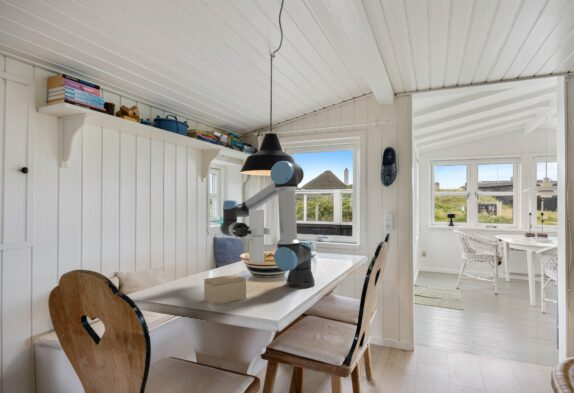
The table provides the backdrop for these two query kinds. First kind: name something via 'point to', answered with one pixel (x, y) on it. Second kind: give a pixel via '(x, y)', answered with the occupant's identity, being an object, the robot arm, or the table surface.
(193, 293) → the table surface
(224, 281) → the lid
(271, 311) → the table surface
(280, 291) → the table surface
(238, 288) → the box
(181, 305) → the table surface
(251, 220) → the cylindrical container
